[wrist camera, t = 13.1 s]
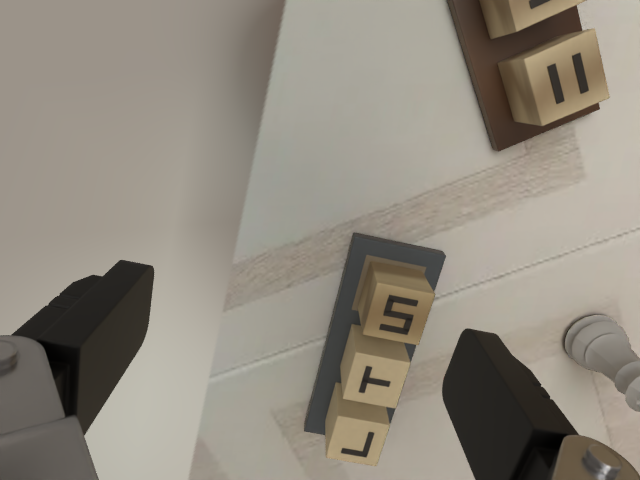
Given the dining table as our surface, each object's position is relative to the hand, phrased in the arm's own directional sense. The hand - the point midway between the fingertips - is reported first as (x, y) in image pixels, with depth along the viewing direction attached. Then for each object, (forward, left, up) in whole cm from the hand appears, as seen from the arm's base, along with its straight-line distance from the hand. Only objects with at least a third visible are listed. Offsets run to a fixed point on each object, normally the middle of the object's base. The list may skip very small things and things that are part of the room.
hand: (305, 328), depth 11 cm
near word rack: (+4, +16, -22) cm, 27 cm away
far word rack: (+11, -9, -22) cm, 26 cm away
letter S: (+9, -4, -21) cm, 23 cm away
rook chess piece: (+26, +1, -22) cm, 34 cm away
